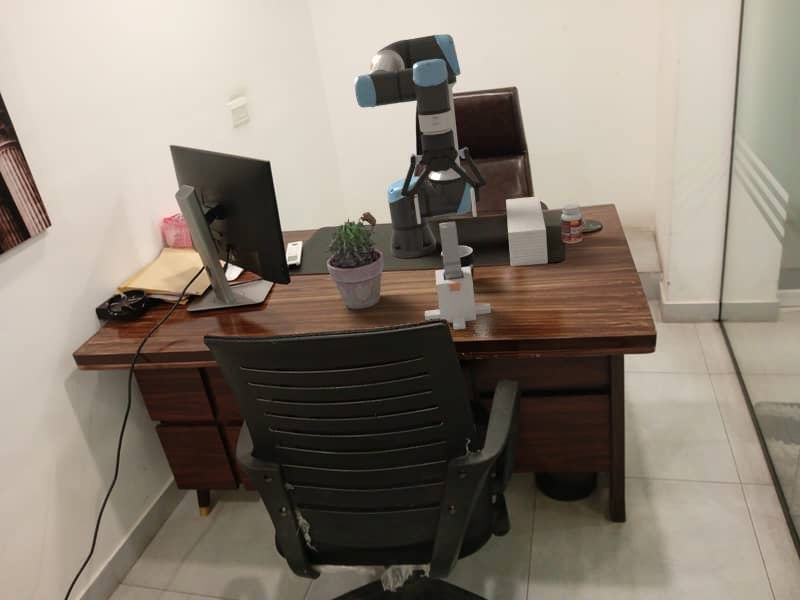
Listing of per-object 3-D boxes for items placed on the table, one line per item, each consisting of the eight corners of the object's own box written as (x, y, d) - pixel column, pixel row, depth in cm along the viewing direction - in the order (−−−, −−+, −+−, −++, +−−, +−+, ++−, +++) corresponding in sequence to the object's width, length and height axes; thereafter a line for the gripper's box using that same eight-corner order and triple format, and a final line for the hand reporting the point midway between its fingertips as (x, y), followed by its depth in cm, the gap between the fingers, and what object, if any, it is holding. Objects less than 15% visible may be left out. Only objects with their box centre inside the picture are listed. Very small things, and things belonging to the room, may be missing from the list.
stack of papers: (508, 230, 226) (506, 199, 222) (540, 227, 224) (538, 196, 220) (510, 266, 198) (508, 232, 193) (547, 263, 196) (545, 229, 191)
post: (449, 309, 176) (438, 223, 166) (465, 307, 176) (455, 221, 166) (449, 316, 172) (439, 228, 162) (466, 314, 172) (456, 226, 162)
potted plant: (313, 310, 188) (295, 227, 178) (361, 284, 201) (346, 204, 191) (358, 324, 177) (342, 235, 166) (406, 294, 189) (393, 210, 179)
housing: (425, 303, 182) (420, 266, 178) (487, 296, 181) (484, 258, 176) (425, 332, 167) (420, 293, 162) (493, 325, 166) (490, 284, 161)
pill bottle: (572, 245, 205) (571, 210, 200) (557, 241, 210) (556, 207, 205) (586, 239, 208) (585, 204, 203) (571, 235, 213) (570, 201, 208)
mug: (474, 290, 186) (470, 256, 181) (442, 291, 188) (438, 258, 184) (478, 273, 196) (475, 240, 192) (448, 274, 198) (445, 242, 194)
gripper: (382, 141, 152) (395, 229, 160) (492, 126, 150) (499, 216, 158) (384, 135, 158) (396, 220, 167) (489, 120, 156) (496, 207, 165)
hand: (446, 218), depth 163 cm, fingers open, 13 cm apart
